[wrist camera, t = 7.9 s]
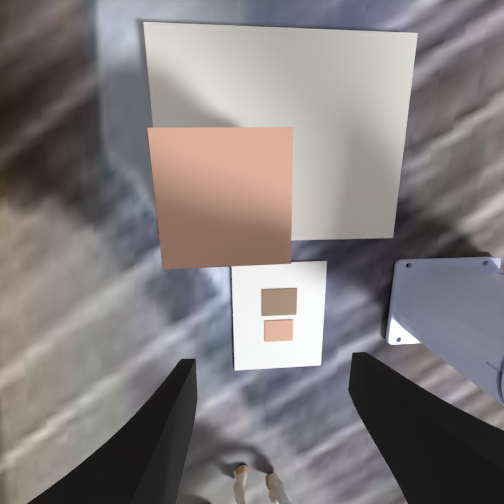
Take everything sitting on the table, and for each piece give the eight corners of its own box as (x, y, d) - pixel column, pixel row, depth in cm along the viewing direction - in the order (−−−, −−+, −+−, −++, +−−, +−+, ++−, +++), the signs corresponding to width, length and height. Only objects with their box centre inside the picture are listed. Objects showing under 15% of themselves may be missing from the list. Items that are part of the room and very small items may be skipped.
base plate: (407, 42, 17) (417, 33, 16) (385, 236, 20) (393, 237, 19) (148, 32, 16) (143, 21, 15) (167, 240, 19) (163, 243, 18)
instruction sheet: (326, 260, 20) (327, 261, 20) (320, 363, 22) (321, 365, 22) (231, 263, 20) (231, 264, 19) (234, 368, 22) (234, 371, 22)
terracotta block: (271, 153, 13) (292, 127, 8) (271, 241, 14) (291, 264, 9) (179, 154, 13) (147, 127, 8) (187, 245, 14) (163, 269, 9)
